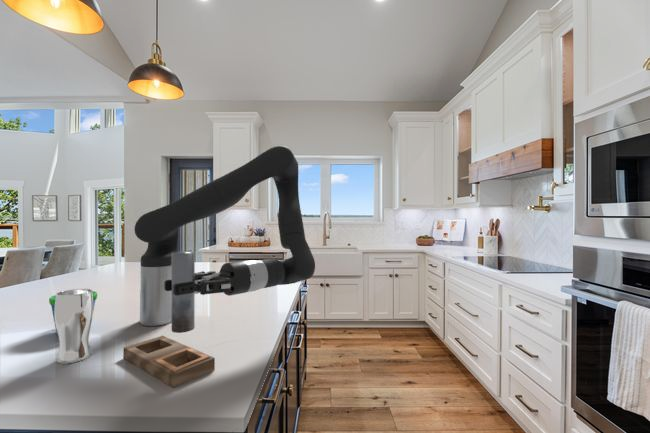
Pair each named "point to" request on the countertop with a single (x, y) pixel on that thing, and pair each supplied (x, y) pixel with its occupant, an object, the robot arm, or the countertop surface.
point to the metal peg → (183, 303)
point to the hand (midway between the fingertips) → (169, 287)
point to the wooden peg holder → (169, 360)
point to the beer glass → (73, 324)
